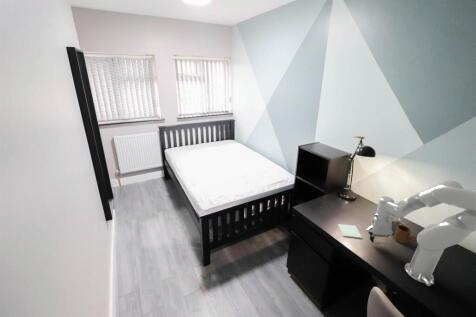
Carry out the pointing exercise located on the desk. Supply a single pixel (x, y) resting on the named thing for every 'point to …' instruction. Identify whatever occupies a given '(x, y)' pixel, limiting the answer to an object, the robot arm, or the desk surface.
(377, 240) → the maple block
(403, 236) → the mug
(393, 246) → the desk surface
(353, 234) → the trivet
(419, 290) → the desk surface
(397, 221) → the coffee mug
